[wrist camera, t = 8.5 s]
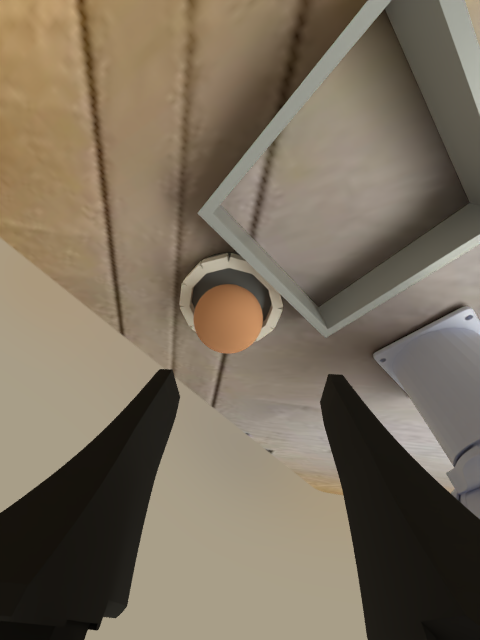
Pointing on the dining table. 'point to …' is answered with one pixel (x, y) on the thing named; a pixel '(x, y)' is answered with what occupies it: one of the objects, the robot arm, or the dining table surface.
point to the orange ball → (228, 318)
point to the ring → (230, 272)
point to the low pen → (453, 126)
